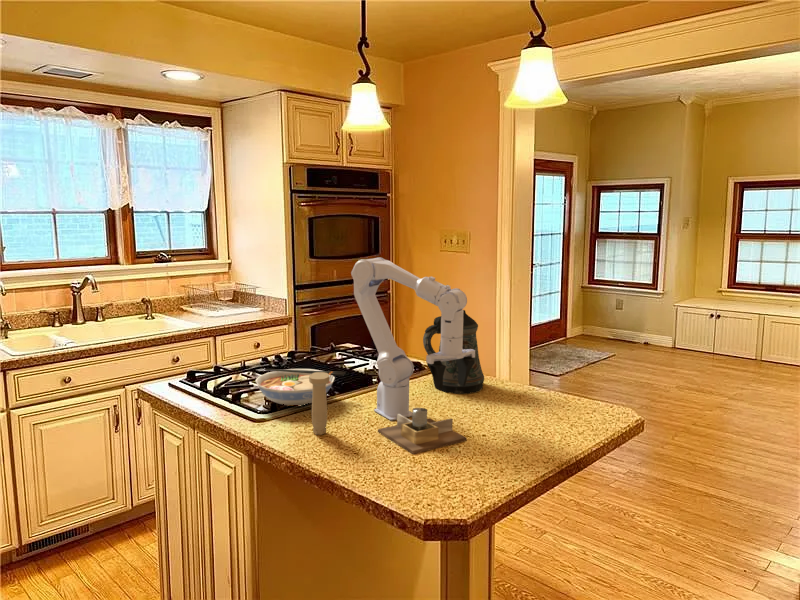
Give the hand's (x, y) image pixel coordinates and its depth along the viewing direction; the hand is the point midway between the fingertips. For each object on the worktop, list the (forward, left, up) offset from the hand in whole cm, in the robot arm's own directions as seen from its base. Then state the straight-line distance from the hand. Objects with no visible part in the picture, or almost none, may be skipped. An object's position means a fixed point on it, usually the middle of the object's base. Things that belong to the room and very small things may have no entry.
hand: (450, 386), depth 157 cm
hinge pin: (+5, -13, -10) cm, 17 cm away
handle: (-12, -32, -11) cm, 36 cm away
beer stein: (-26, +22, -11) cm, 36 cm away
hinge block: (+3, -11, -10) cm, 15 cm away
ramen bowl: (-37, -28, -11) cm, 48 cm away
